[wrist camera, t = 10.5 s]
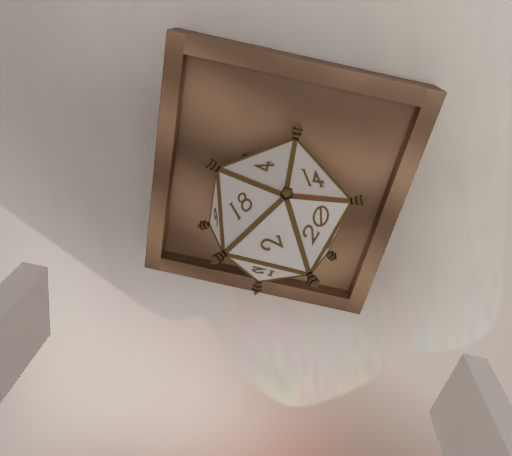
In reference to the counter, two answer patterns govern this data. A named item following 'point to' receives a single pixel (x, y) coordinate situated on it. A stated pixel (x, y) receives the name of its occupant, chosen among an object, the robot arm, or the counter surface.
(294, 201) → the game die
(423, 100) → the walnut tray
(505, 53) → the counter surface
